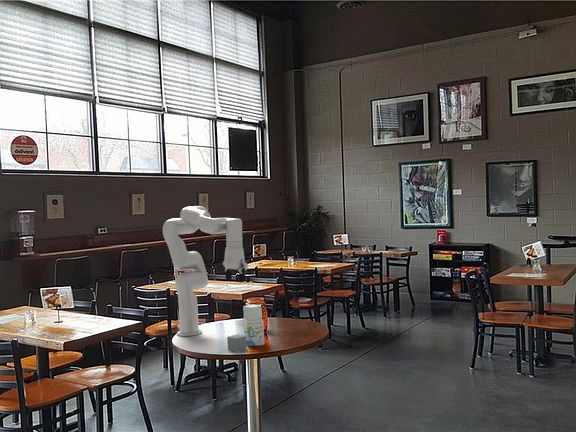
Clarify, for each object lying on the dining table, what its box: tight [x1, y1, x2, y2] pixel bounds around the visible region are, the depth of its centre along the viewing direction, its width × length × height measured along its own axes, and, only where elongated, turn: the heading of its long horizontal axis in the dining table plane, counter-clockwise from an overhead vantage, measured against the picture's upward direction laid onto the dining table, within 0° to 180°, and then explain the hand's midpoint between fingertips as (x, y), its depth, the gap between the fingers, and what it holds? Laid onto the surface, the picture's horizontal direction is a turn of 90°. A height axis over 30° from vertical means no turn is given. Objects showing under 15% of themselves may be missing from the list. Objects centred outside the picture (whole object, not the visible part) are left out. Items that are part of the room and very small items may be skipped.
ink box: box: [243, 317, 265, 347], centre depth 268 cm, size 8×8×12 cm
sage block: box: [243, 304, 262, 321], centre depth 268 cm, size 6×6×6 cm
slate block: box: [226, 333, 248, 353], centre depth 258 cm, size 6×6×6 cm
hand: (235, 280), depth 270 cm, fingers open, 9 cm apart
